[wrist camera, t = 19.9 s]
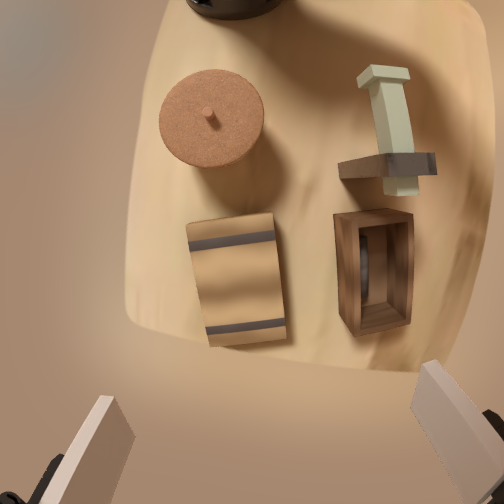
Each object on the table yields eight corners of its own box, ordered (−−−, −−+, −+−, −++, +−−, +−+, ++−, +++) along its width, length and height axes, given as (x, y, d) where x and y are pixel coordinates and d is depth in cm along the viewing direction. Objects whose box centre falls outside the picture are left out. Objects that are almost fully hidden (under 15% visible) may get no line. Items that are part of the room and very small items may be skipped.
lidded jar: (240, 184, 35) (236, 184, 26) (163, 153, 34) (136, 144, 25) (275, 109, 33) (283, 85, 24) (198, 80, 32) (183, 51, 23)
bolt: (356, 77, 24) (370, 64, 20) (390, 79, 24) (407, 68, 20) (374, 195, 26) (392, 197, 23) (407, 192, 26) (428, 194, 22)
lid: (191, 221, 36) (185, 225, 33) (270, 210, 36) (272, 213, 33) (213, 333, 40) (210, 347, 36) (283, 325, 40) (286, 338, 36)
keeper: (337, 163, 35) (386, 152, 21) (373, 160, 35) (434, 152, 21) (339, 178, 35) (389, 176, 21) (375, 175, 35) (437, 174, 21)
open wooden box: (333, 214, 36) (350, 221, 29) (387, 208, 36) (413, 214, 29) (338, 313, 39) (354, 337, 33) (388, 303, 39) (410, 323, 32)
